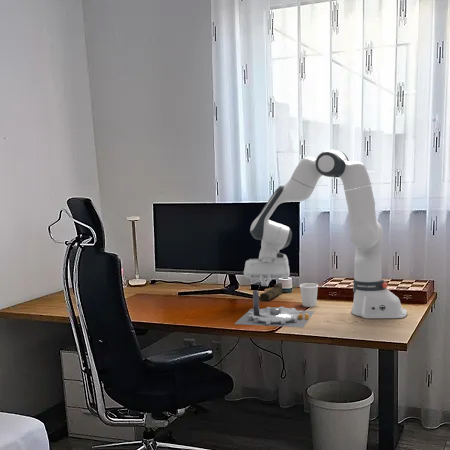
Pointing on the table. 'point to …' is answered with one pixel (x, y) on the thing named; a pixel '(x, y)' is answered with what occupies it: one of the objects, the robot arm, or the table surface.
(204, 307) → the table surface
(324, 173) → the robot arm
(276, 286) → the brown wooden log
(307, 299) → the dixie cup
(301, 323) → the base plate
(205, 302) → the table surface
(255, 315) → the sprocket
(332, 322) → the table surface
